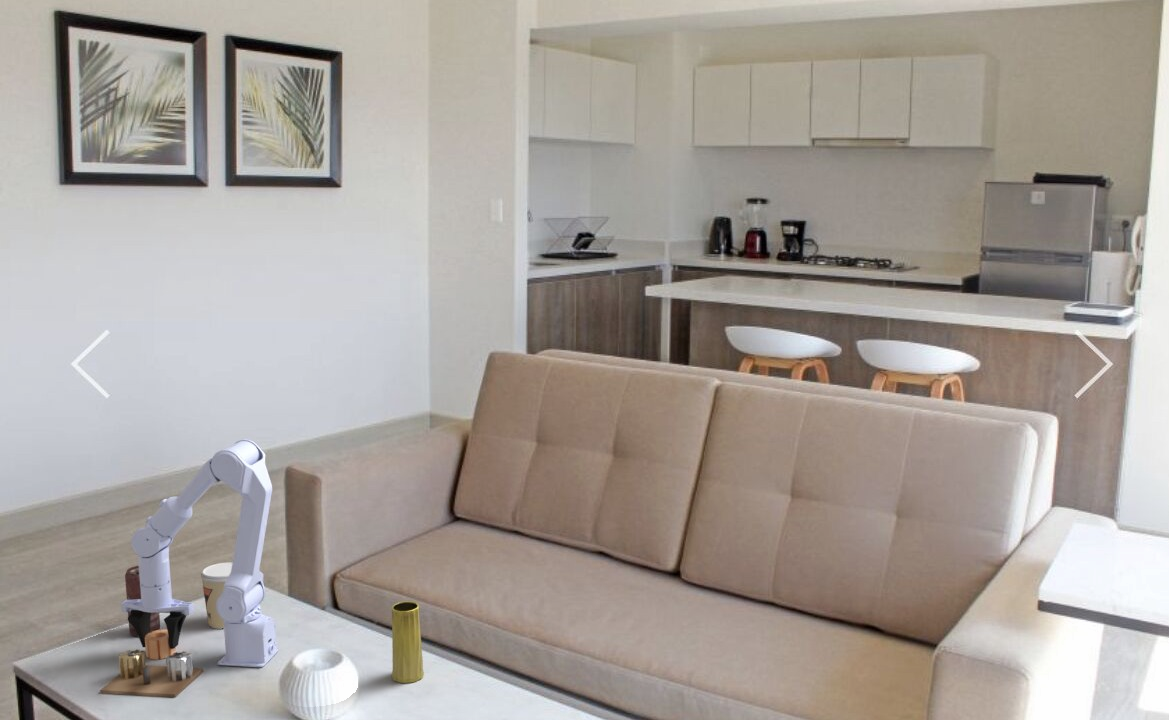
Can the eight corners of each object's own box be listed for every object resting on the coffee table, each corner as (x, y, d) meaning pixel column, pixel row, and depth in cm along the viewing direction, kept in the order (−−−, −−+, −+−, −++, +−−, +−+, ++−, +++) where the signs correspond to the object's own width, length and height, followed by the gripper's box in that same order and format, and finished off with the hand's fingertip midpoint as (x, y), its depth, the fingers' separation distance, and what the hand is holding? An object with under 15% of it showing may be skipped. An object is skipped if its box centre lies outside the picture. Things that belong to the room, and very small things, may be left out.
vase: (397, 686, 204) (394, 614, 202) (387, 673, 209) (384, 603, 207) (428, 679, 207) (425, 608, 204) (417, 666, 212) (415, 597, 210)
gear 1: (150, 669, 211) (148, 648, 210) (137, 680, 206) (136, 658, 205) (128, 668, 211) (126, 647, 210) (115, 678, 207) (113, 657, 206)
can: (140, 640, 226) (135, 576, 223) (124, 632, 229) (118, 569, 227) (166, 630, 230) (162, 568, 228) (150, 623, 234) (145, 561, 232)
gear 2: (197, 671, 210) (195, 650, 209) (185, 682, 205) (184, 660, 204) (175, 670, 210) (173, 649, 209) (162, 680, 206) (161, 659, 205)
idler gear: (180, 648, 221) (178, 630, 221) (166, 659, 216) (165, 641, 215) (155, 647, 222) (153, 628, 221) (141, 658, 217) (139, 639, 216)
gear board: (203, 671, 211) (202, 652, 210) (175, 697, 200) (173, 678, 200) (132, 667, 213) (130, 649, 212) (100, 693, 202) (98, 673, 202)
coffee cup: (206, 615, 238) (203, 563, 236) (250, 611, 240) (247, 560, 238) (202, 632, 229) (198, 578, 227) (248, 628, 231) (244, 574, 230)
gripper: (199, 576, 219) (203, 639, 222) (132, 573, 221) (137, 636, 224) (181, 589, 213) (186, 654, 215) (113, 586, 215) (118, 650, 217)
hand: (160, 646), depth 219 cm, fingers closed on idler gear, 5 cm apart
